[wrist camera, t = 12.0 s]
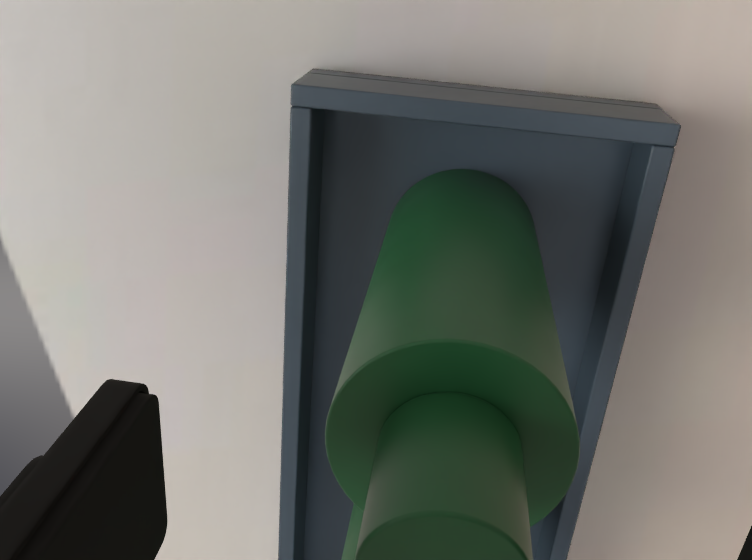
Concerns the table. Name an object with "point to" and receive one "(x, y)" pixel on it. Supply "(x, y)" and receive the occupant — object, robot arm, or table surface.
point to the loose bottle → (454, 382)
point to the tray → (371, 219)
